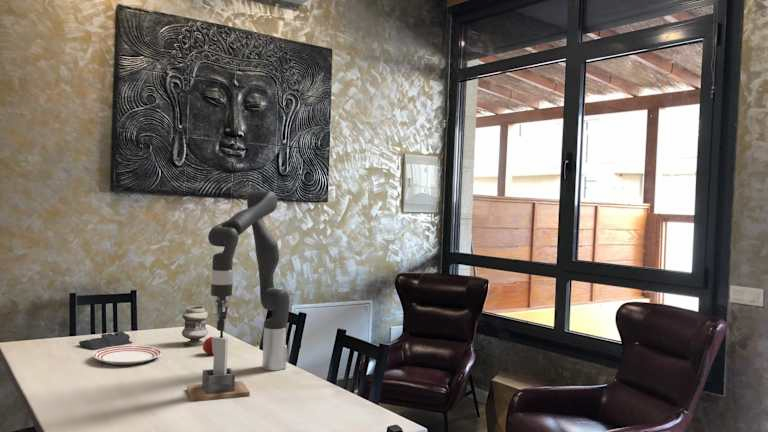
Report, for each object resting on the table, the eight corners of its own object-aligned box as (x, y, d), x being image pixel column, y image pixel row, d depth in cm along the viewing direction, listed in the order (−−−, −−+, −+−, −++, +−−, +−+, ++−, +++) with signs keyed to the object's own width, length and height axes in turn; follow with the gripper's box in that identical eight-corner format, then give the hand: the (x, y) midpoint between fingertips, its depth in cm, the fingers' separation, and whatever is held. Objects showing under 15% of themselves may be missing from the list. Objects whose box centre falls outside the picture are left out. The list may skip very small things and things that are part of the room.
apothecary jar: (176, 345, 286) (177, 307, 286) (191, 340, 298) (192, 304, 297) (198, 348, 283) (199, 309, 282) (212, 342, 294) (213, 306, 294)
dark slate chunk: (73, 346, 279) (74, 336, 279) (117, 338, 297) (117, 329, 297) (92, 351, 270) (92, 341, 270) (136, 343, 289) (136, 333, 289)
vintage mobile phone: (212, 381, 221) (215, 313, 220) (226, 382, 221) (228, 314, 220) (209, 384, 217) (212, 315, 216) (223, 385, 217) (226, 316, 217)
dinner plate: (172, 354, 271) (172, 346, 271) (142, 370, 244) (142, 362, 244) (114, 350, 274) (114, 343, 274) (78, 366, 246) (78, 358, 246)
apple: (218, 357, 268) (219, 339, 268) (200, 356, 268) (201, 338, 268) (223, 352, 276) (224, 335, 276) (205, 352, 276) (206, 334, 276)
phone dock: (242, 384, 229) (242, 365, 229) (249, 396, 216) (250, 375, 216) (186, 389, 221) (187, 369, 221) (191, 401, 208) (192, 379, 208)
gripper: (235, 284, 213) (234, 333, 214) (229, 279, 226) (227, 326, 226) (214, 285, 210) (212, 334, 211) (208, 280, 223) (207, 327, 223)
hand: (220, 330), depth 218 cm, fingers closed on vintage mobile phone, 1 cm apart
